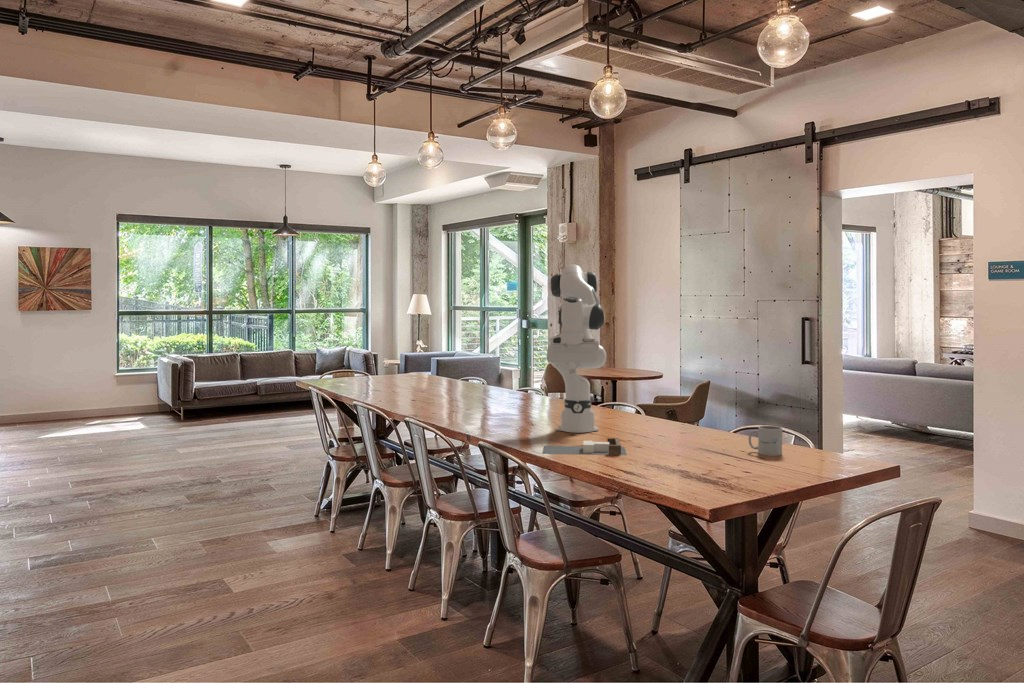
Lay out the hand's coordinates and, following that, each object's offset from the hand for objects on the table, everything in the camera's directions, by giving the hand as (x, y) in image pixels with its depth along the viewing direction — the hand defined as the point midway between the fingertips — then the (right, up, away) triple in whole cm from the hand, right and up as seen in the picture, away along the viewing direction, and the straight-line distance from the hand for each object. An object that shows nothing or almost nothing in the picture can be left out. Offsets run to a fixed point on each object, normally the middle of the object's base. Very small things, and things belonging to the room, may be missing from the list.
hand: (572, 373), depth 296 cm
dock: (+16, -30, -6) cm, 34 cm away
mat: (+4, -30, -5) cm, 31 cm away
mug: (+74, -30, -8) cm, 80 cm away
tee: (+9, -30, -5) cm, 31 cm away
